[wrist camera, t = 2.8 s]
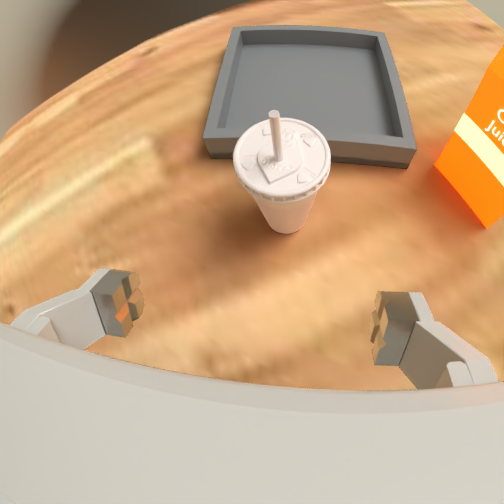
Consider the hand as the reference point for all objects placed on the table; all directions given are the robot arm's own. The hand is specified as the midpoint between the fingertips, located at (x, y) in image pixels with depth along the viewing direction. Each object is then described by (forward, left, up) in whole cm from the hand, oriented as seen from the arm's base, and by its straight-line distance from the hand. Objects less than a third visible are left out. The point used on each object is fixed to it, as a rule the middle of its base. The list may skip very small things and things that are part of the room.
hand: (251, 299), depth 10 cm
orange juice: (+21, +16, -16) cm, 31 cm away
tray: (+2, +26, -16) cm, 31 cm away
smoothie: (0, +10, -16) cm, 19 cm away
